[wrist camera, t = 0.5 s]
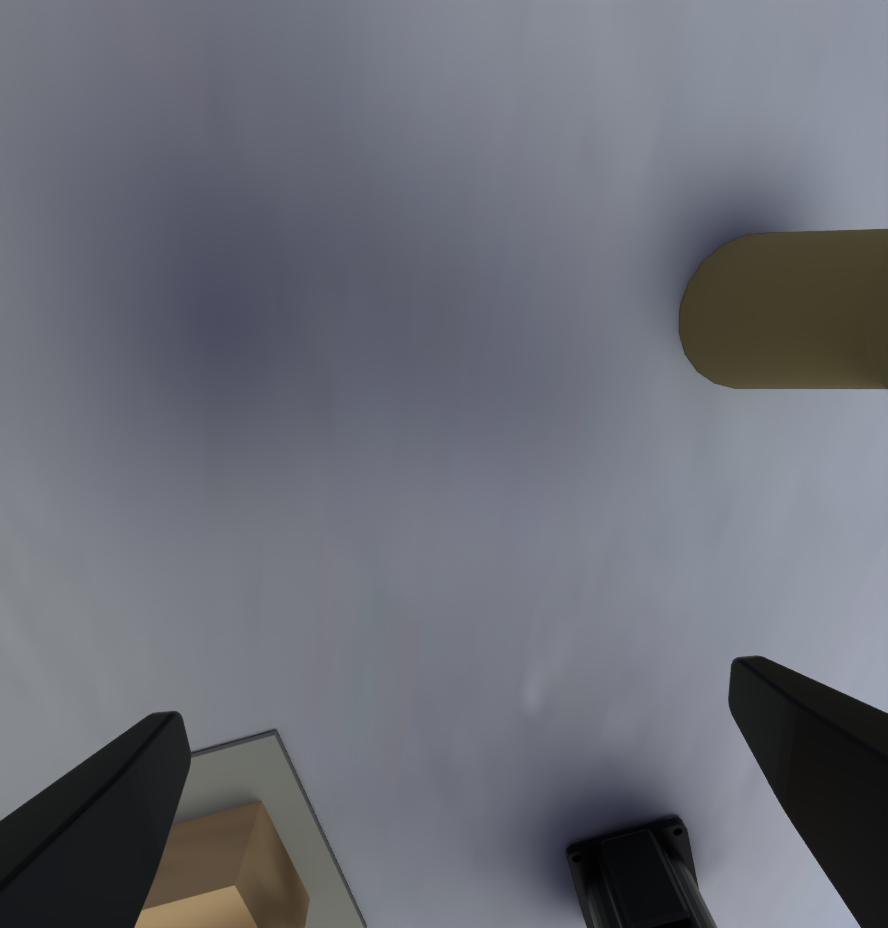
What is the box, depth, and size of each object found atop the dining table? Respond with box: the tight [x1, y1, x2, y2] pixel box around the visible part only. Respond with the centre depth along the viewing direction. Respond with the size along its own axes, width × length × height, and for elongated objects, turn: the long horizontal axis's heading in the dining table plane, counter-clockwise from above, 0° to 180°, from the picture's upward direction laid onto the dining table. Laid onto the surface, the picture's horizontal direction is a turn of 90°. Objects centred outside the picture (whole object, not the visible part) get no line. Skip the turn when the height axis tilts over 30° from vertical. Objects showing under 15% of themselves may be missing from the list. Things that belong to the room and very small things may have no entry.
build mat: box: [172, 730, 367, 928], centre depth 27 cm, size 14×12×1 cm
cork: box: [679, 229, 888, 389], centre depth 16 cm, size 6×6×11 cm
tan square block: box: [135, 801, 310, 928], centre depth 25 cm, size 7×7×4 cm
